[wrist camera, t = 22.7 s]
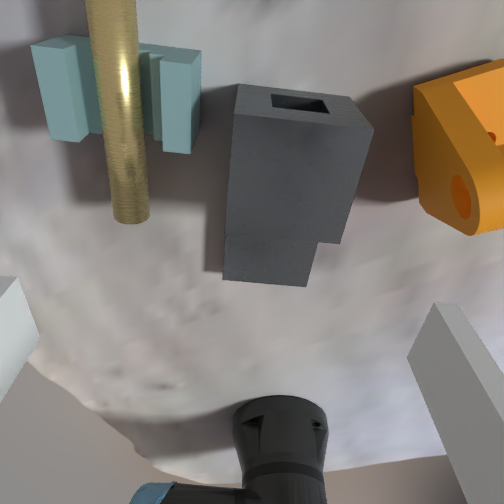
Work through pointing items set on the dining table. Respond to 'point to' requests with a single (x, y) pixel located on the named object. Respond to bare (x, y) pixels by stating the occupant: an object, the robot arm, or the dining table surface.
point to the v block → (152, 83)
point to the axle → (120, 104)
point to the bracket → (461, 148)
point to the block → (289, 180)
